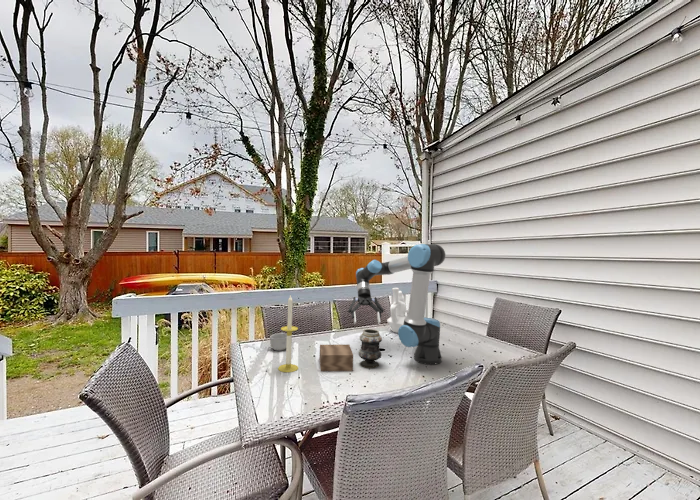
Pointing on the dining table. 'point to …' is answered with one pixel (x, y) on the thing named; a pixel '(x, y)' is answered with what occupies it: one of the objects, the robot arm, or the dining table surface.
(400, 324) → the white tall piece
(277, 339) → the teacup
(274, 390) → the dining table surface
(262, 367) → the dining table surface
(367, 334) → the apothecary jar
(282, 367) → the rod with yellow discs
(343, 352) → the walnut stand
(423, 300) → the robot arm
